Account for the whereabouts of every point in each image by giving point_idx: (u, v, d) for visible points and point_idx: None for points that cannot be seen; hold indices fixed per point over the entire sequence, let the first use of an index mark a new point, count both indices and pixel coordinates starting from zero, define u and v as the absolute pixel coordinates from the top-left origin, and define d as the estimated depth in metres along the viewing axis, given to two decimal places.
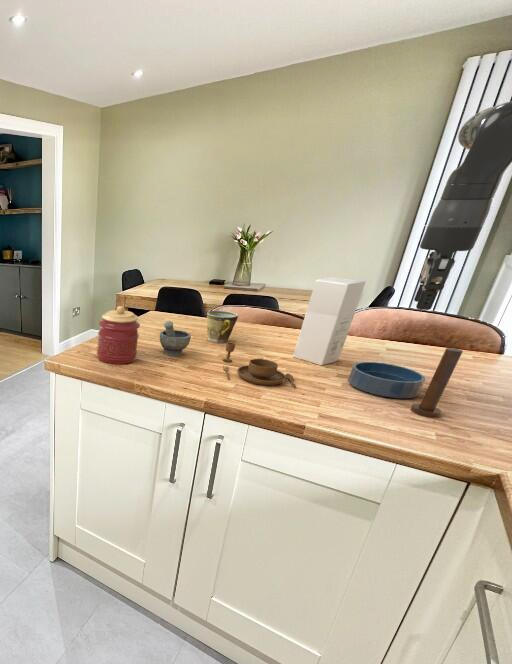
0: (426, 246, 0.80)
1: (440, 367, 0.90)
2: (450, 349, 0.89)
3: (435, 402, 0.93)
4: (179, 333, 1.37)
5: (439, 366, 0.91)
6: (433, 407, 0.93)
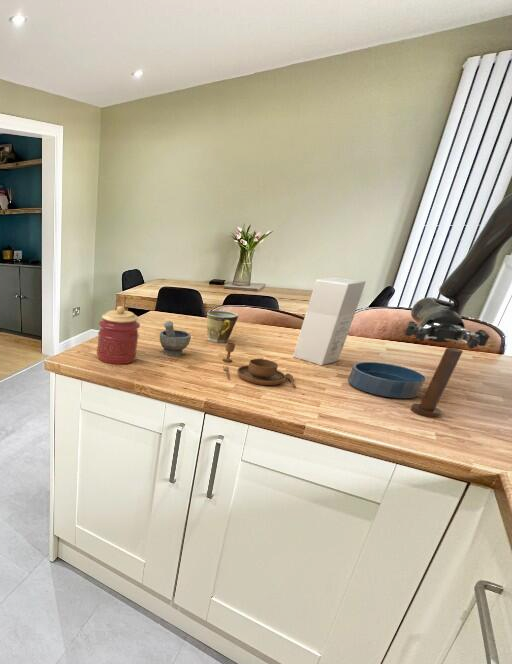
0: None
1: (440, 367, 0.90)
2: (450, 349, 0.89)
3: (435, 402, 0.93)
4: (179, 333, 1.37)
5: (439, 366, 0.91)
6: (433, 407, 0.93)
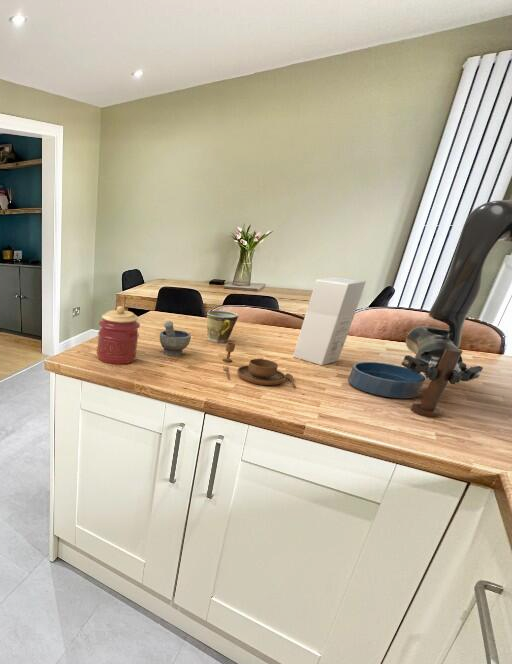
0: None
1: (440, 367, 0.90)
2: (450, 349, 0.89)
3: (435, 402, 0.93)
4: (179, 333, 1.37)
5: (439, 366, 0.91)
6: (433, 407, 0.93)
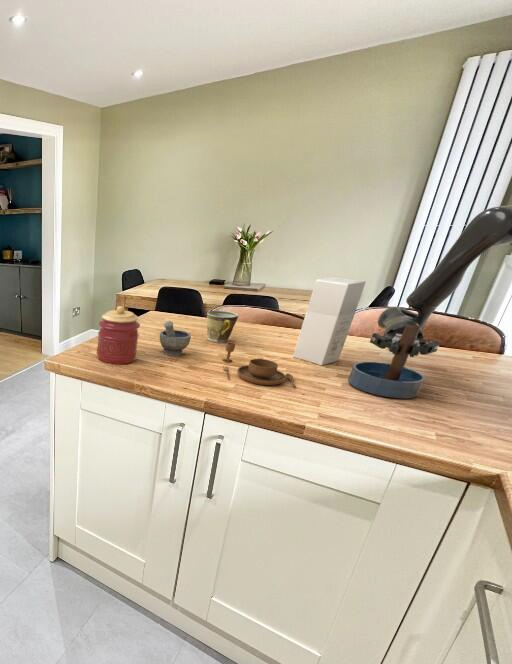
0: None
1: (401, 342, 1.01)
2: (410, 325, 0.99)
3: (398, 374, 1.03)
4: (179, 333, 1.37)
5: (400, 341, 1.01)
6: (396, 378, 1.04)
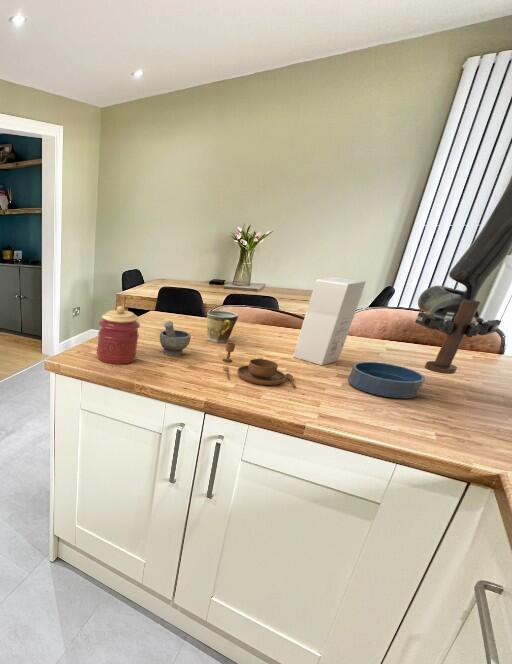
0: (434, 328, 0.97)
1: (456, 320, 0.87)
2: (467, 301, 0.85)
3: (451, 358, 0.89)
4: (179, 333, 1.37)
5: (455, 319, 0.87)
6: (448, 363, 0.90)
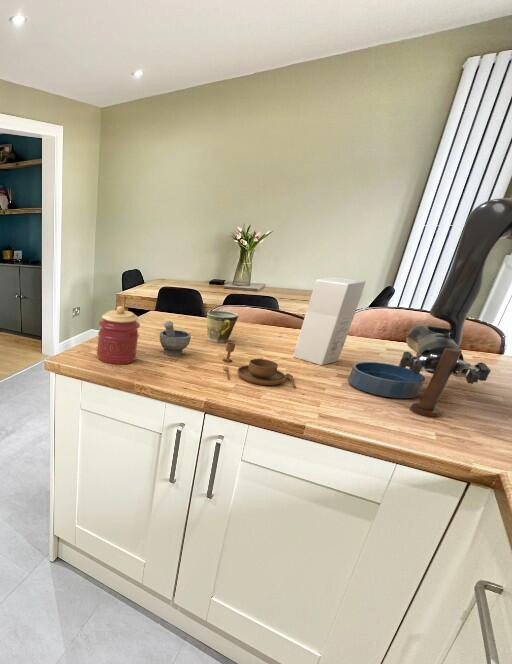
0: None
1: (439, 367, 0.90)
2: (449, 349, 0.89)
3: (434, 402, 0.93)
4: (179, 333, 1.37)
5: (438, 366, 0.91)
6: (432, 407, 0.93)
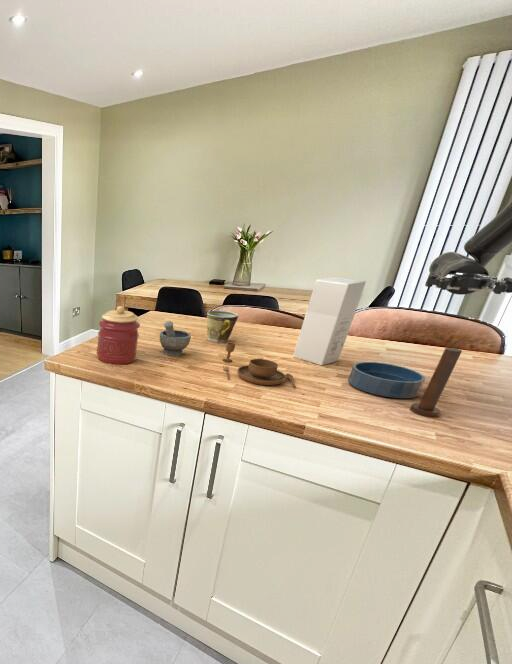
0: None
1: (439, 367, 0.90)
2: (449, 349, 0.89)
3: (434, 402, 0.93)
4: (179, 333, 1.37)
5: (438, 366, 0.91)
6: (432, 407, 0.93)
